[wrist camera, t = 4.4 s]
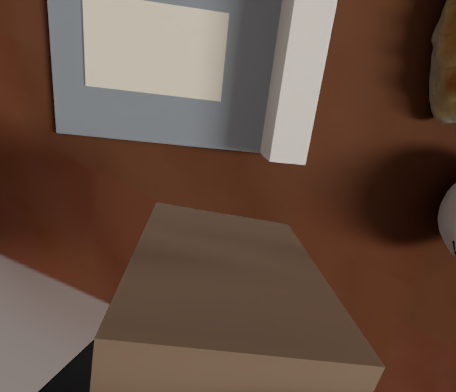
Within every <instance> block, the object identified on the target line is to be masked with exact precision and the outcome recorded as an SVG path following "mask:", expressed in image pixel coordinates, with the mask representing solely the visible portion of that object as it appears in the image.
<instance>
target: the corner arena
mask: <svg viewBox="0 0 456 392" xmlns="http://www.w3.org/2000/svg"><path fill="white" fill-rule="evenodd" d="M337 1H338V0H47V5H48V20H49V34H50V49H51V63H52V77H53V92H54V106H55V121H56V133H62V134H72V135H83V136H93V137H103V138H113V139H123V140H133V141H143V142H154V143H164V144H174V145H184V146H194V147H204V148H215V149H225V150H235V151H245V152H255V153H261V154H262V155H263V156H264V157H265V158H266V159H267V160H268V161H269V162H278V163H289V164H299V165H305V164H306V159H307V154H308V149H309V144H310V139H311V134H312V128H313V123H314V118H315V113H316V108H317V103H318V98H319V93H320V88H321V82H322V77H323V72H324V67H325V62H326V57H327V52H328V47H329V42H330V36H331V31H332V26H333V21H334V16H335V11H336V6H337Z"/></svg>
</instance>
